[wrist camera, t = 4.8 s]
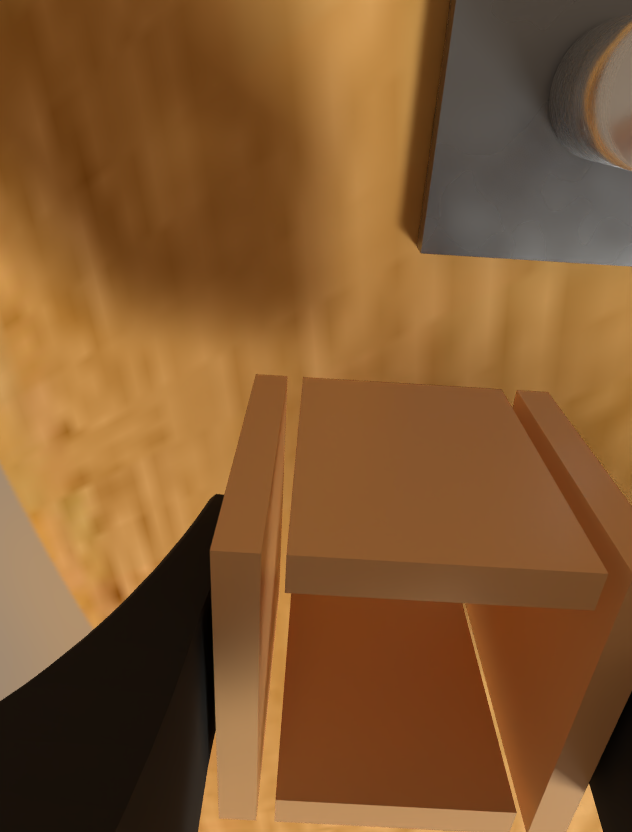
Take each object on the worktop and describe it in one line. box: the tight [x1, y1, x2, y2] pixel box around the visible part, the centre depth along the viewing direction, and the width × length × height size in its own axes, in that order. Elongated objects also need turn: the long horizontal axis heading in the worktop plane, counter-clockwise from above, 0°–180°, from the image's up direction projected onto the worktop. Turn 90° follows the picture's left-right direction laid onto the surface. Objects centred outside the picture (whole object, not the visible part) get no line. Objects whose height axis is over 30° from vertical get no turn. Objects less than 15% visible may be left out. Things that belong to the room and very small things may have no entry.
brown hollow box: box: [210, 374, 632, 832], centre depth 11 cm, size 6×6×5 cm
